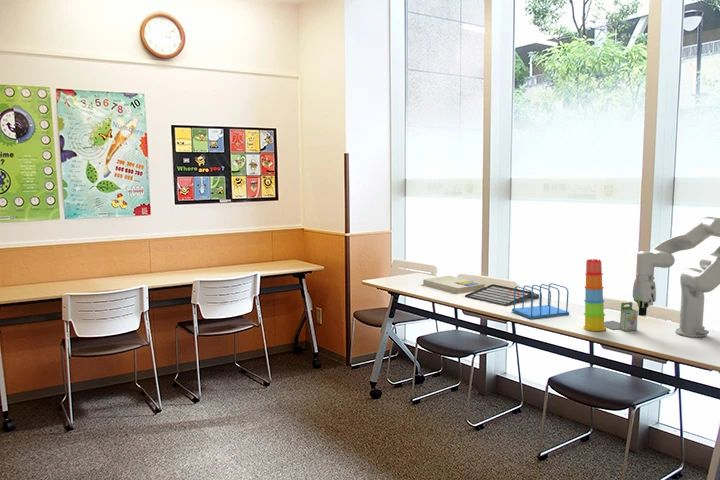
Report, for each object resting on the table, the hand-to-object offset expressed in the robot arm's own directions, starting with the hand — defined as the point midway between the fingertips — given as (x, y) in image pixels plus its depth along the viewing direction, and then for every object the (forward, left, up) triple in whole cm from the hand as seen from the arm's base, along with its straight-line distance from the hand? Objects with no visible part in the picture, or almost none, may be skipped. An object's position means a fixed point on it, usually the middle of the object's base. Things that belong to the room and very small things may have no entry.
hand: (642, 315), depth 273 cm
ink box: (+8, 0, -10) cm, 13 cm away
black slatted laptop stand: (+92, +18, -10) cm, 95 cm away
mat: (+17, +1, -9) cm, 20 cm away
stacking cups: (+16, +14, -10) cm, 23 cm away
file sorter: (+51, +20, -10) cm, 56 cm away
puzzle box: (+131, +31, -10) cm, 135 cm away
